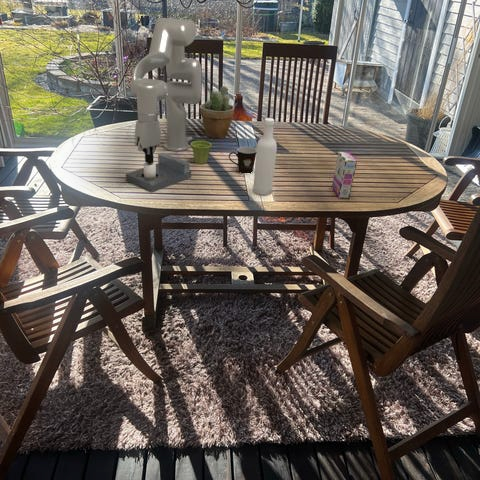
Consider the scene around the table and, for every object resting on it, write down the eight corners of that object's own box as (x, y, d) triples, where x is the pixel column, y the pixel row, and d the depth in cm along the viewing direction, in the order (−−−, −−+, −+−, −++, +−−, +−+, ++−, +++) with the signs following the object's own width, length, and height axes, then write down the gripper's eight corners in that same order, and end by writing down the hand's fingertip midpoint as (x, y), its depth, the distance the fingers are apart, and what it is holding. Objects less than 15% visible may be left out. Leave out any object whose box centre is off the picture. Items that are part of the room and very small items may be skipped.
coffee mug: (257, 169, 209) (259, 148, 204) (251, 176, 202) (253, 154, 197) (233, 165, 212) (234, 144, 207) (226, 171, 205) (228, 150, 200)
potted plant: (232, 141, 241) (235, 93, 229) (197, 139, 241) (198, 90, 229) (233, 131, 257) (235, 85, 245) (200, 129, 257) (201, 83, 244)
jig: (165, 167, 204) (164, 152, 200) (191, 177, 196) (191, 162, 192) (126, 180, 189) (125, 164, 185) (152, 192, 180) (151, 175, 177)
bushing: (150, 179, 192) (150, 160, 188) (158, 182, 189) (158, 164, 185) (141, 182, 188) (141, 163, 184) (149, 185, 186) (149, 167, 182)
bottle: (266, 197, 183) (273, 123, 168) (249, 192, 187) (255, 119, 172) (275, 191, 189) (283, 119, 174) (259, 185, 193) (265, 115, 178)
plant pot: (214, 161, 215) (215, 143, 211) (204, 167, 207) (205, 148, 203) (197, 157, 218) (197, 139, 214) (186, 162, 211) (187, 144, 206)
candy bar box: (350, 199, 187) (357, 161, 179) (338, 198, 187) (345, 160, 179) (342, 187, 197) (349, 151, 189) (331, 187, 197) (337, 151, 188)
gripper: (155, 112, 182) (156, 155, 191) (125, 118, 172) (128, 164, 181) (168, 116, 178) (169, 160, 188) (139, 122, 168) (141, 169, 177)
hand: (149, 162), depth 184 cm, fingers closed
